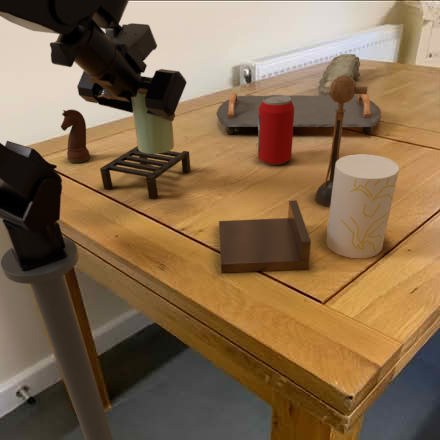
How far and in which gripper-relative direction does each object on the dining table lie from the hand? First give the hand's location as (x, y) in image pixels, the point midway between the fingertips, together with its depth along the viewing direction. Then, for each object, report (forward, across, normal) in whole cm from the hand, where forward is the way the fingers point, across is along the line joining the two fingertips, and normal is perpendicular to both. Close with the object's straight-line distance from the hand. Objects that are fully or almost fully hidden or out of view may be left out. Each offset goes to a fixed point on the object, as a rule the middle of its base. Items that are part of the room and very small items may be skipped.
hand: (158, 115), depth 80 cm
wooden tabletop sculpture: (+16, -29, +2) cm, 33 cm away
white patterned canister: (+8, -37, +10) cm, 40 cm away
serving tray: (+40, -5, -22) cm, 46 cm away
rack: (+9, +4, +9) cm, 13 cm away
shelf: (+2, -26, +16) cm, 31 cm away
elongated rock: (+60, -2, -50) cm, 79 cm away
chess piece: (+6, +24, +5) cm, 25 cm away
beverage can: (+23, -12, -5) cm, 27 cm away
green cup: (+3, 0, +5) cm, 5 cm away
